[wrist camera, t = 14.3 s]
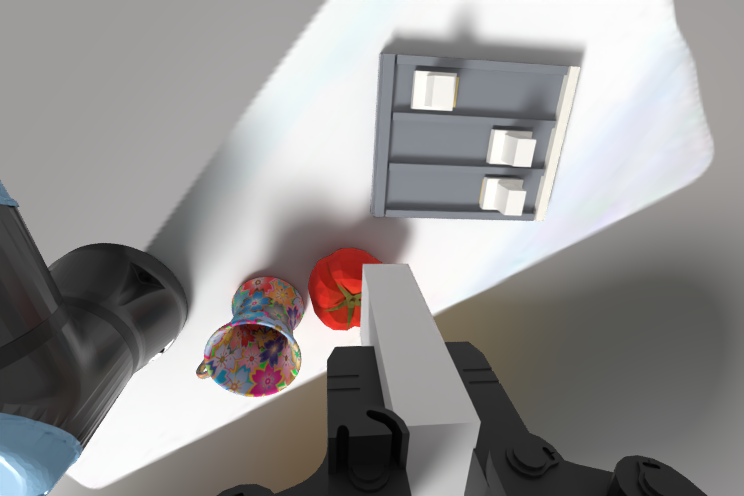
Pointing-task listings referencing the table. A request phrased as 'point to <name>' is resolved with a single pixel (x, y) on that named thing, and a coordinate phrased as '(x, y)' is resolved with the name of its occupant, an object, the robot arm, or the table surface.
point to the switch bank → (465, 136)
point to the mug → (257, 340)
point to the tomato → (339, 287)
